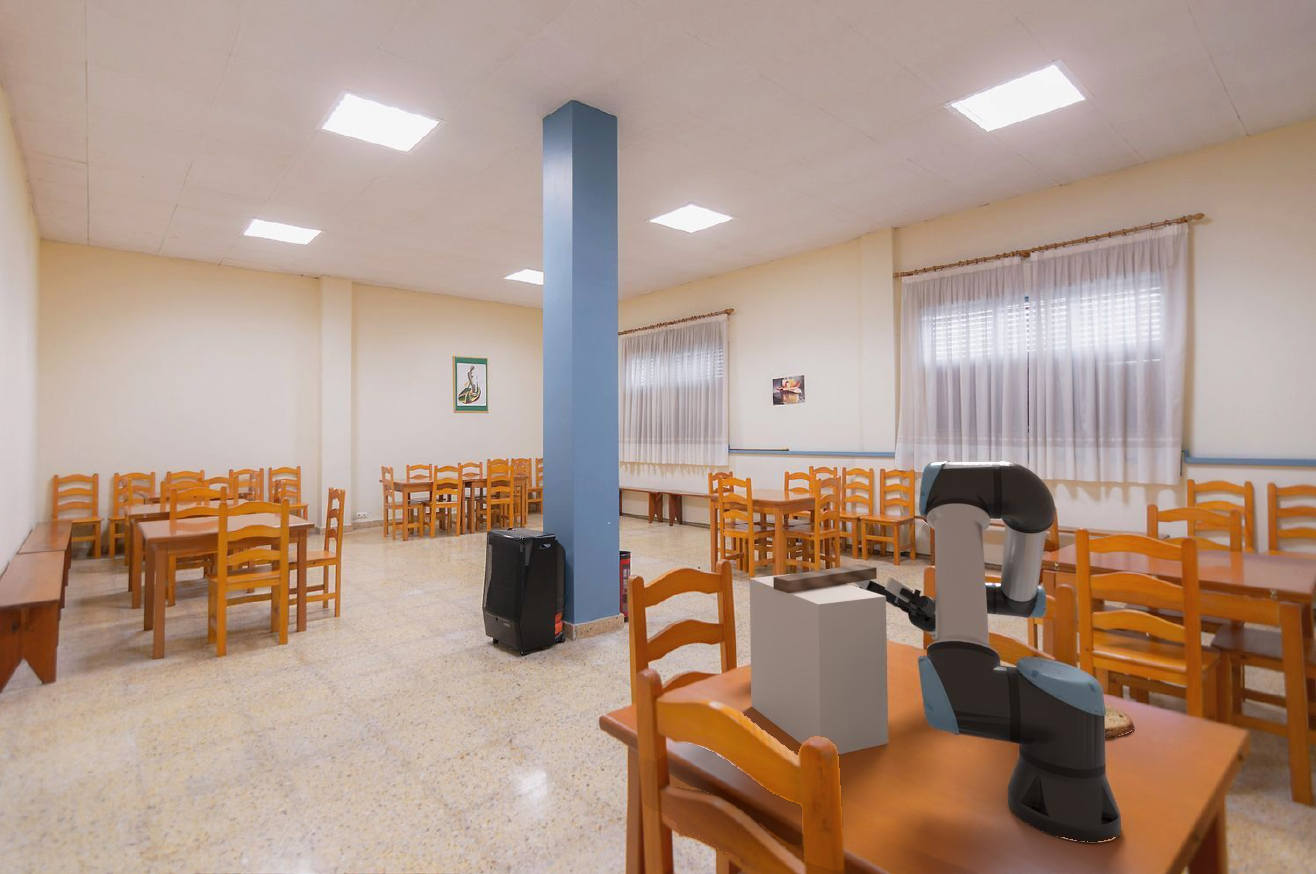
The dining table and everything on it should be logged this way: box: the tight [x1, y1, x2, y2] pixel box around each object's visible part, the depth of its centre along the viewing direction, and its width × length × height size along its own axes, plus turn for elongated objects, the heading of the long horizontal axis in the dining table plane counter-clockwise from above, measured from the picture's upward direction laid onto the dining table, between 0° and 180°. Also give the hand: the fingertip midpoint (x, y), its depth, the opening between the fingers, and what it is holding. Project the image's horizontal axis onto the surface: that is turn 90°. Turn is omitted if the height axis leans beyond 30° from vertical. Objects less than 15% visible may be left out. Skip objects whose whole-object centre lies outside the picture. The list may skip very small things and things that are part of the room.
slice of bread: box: [1105, 705, 1135, 738], centre depth 132 cm, size 18×18×4 cm
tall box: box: [749, 573, 889, 756], centre depth 134 cm, size 16×26×29 cm, turn 21°
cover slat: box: [773, 564, 878, 593], centre depth 137 cm, size 26×5×2 cm, turn 120°
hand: (866, 577), depth 140 cm, fingers open, 13 cm apart
